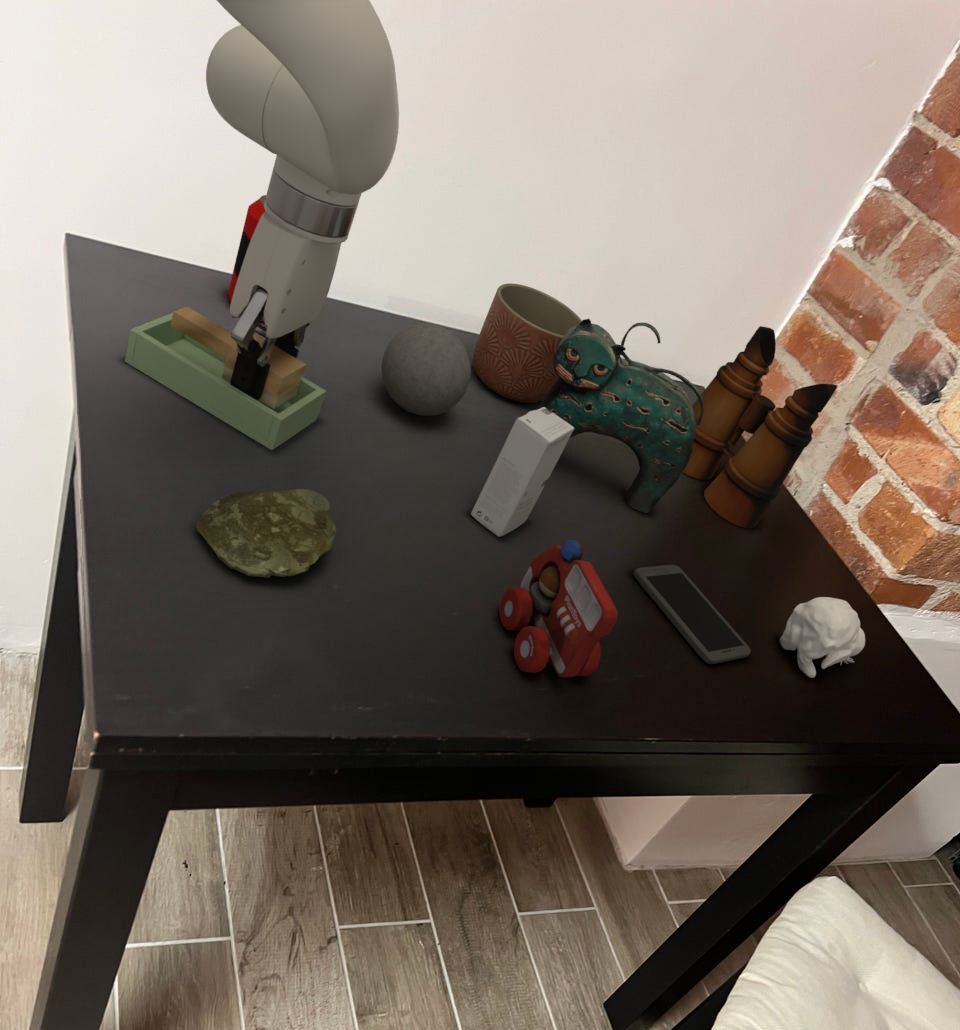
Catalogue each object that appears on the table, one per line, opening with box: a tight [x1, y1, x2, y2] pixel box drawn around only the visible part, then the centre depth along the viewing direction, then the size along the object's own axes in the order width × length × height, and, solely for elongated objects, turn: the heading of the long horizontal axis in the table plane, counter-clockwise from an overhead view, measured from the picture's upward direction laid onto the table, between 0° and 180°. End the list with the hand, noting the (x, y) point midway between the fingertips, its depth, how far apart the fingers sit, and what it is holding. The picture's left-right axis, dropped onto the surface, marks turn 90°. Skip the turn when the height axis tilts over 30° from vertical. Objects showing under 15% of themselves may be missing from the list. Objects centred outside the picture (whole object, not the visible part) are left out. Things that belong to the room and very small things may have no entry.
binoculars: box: [682, 325, 838, 529], centre depth 118 cm, size 18×8×20 cm, turn 31°
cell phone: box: [632, 564, 752, 665], centre depth 98 cm, size 7×14×1 cm, turn 32°
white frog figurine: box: [779, 596, 866, 679], centre depth 100 cm, size 6×8×12 cm
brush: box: [171, 305, 307, 409], centre depth 89 cm, size 13×5×4 cm, turn 68°
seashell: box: [195, 488, 337, 579], centre depth 77 cm, size 10×7×10 cm
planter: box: [472, 283, 583, 404], centre depth 117 cm, size 12×12×11 cm
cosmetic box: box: [470, 407, 574, 538], centre depth 93 cm, size 6×4×12 cm
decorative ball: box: [381, 322, 471, 417], centre depth 102 cm, size 10×10×10 cm
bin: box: [124, 312, 327, 451], centre depth 91 cm, size 17×9×4 cm, turn 68°
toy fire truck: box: [498, 539, 619, 678], centre depth 81 cm, size 7×12×10 cm, turn 16°
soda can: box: [227, 194, 267, 323], centre depth 104 cm, size 8×8×12 cm
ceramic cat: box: [537, 318, 704, 514], centre depth 104 cm, size 20×6×20 cm, turn 81°
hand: (260, 383), depth 90 cm, fingers closed on brush, 4 cm apart
